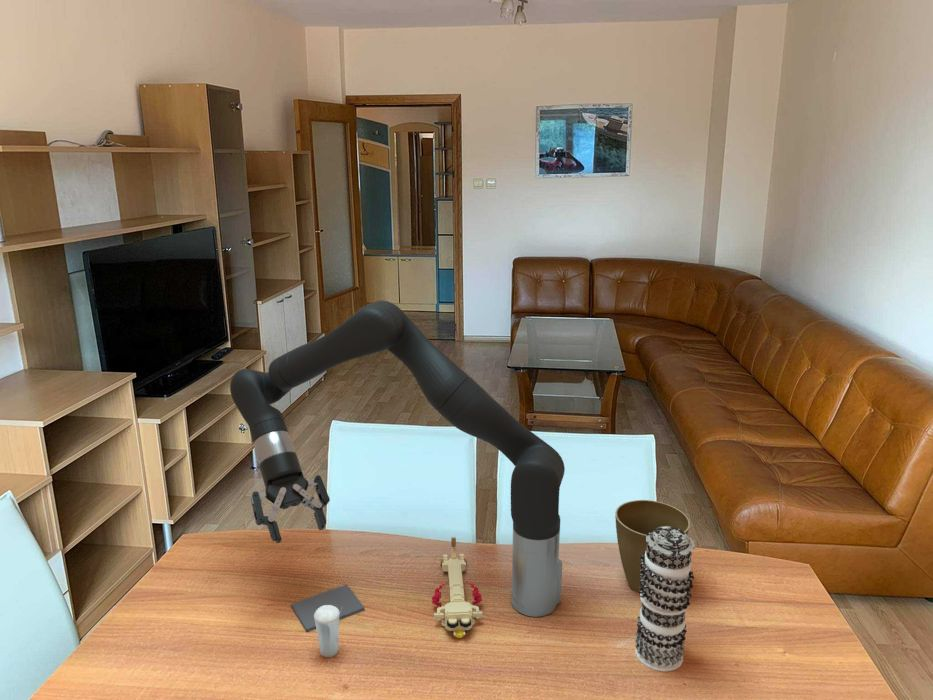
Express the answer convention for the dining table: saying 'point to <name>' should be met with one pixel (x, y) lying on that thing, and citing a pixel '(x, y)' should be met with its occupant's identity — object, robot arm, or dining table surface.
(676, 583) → the decorative candle
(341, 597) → the charcoal mat
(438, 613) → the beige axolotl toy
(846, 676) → the dining table surface
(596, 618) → the dining table surface
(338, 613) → the milkshake
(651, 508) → the plant pot
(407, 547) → the dining table surface
